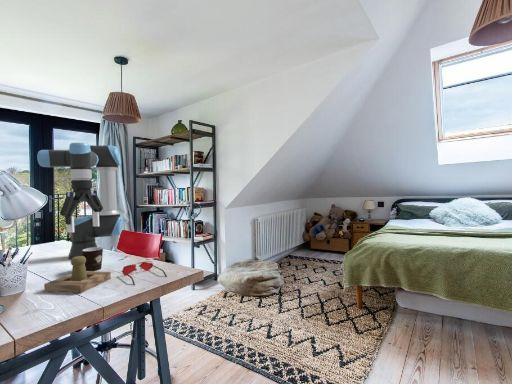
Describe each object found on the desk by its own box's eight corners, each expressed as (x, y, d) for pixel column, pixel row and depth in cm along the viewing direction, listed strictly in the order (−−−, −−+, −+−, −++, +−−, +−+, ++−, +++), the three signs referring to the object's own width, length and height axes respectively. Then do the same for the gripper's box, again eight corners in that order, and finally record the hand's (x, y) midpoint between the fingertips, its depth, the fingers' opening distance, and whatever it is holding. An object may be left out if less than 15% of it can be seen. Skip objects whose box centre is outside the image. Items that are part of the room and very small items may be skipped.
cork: (91, 281, 112) (90, 255, 112) (76, 286, 106) (75, 259, 106) (81, 279, 114) (80, 254, 114) (67, 285, 109) (65, 257, 108)
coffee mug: (101, 265, 137) (100, 246, 137) (106, 269, 131) (105, 248, 131) (73, 271, 129) (72, 250, 129) (78, 275, 123) (77, 253, 123)
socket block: (78, 277, 120) (78, 270, 120) (110, 278, 117) (110, 271, 117) (44, 291, 104) (44, 283, 104) (80, 293, 101) (80, 285, 101)
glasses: (152, 269, 129) (152, 259, 129) (167, 277, 117) (166, 266, 117) (121, 277, 120) (120, 265, 120) (133, 286, 108) (133, 274, 108)
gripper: (96, 179, 128) (98, 224, 129) (46, 180, 103) (49, 235, 105) (110, 179, 127) (112, 224, 128) (63, 179, 102) (66, 235, 103)
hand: (84, 229), depth 116 cm, fingers open, 13 cm apart
